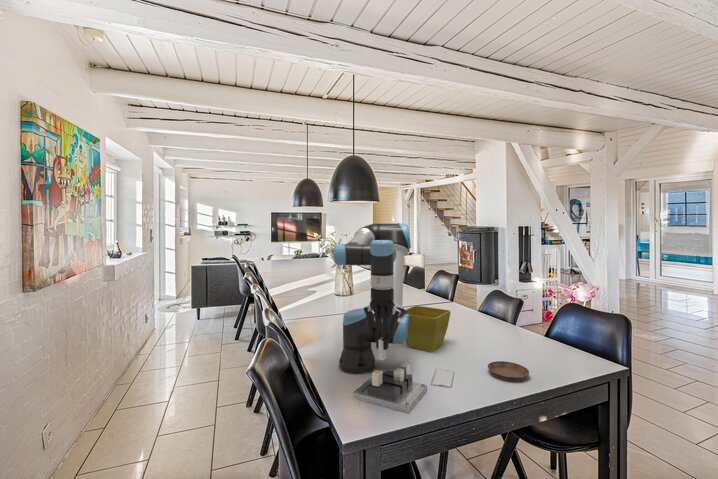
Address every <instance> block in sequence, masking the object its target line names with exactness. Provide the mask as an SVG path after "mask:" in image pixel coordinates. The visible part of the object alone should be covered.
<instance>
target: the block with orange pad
mask: <svg viewBox="0 0 718 479" xmlns="http://www.w3.org/2000/svg"><path fill="white" fill-rule="evenodd" d="M382 373H383V371H381V370H377V369H374V370H373V372H372V373H371V377H372V385H374V386H378V387H379V386H380V385H381V384H382V383H383V378H382Z"/></svg>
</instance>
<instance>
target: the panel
mask: <svg viewBox="0 0 718 479" xmlns="http://www.w3.org/2000/svg"><path fill="white" fill-rule="evenodd" d="M399 366H400V367H398V368H395V370H392V369H385V370H384V371H382V378H383V383H382V384H381V385H380V386H379V387H378V386H374V385H372V376H371V377H370V378H369V379H368V380H367V381H365V382H364V383H362V385H360V386H359V387H358V388H357V389H356V390H354V391H352V393H353V394H352V398H353V399H355V400H359V401H362V402H366V403H370V404H374V405H377V406H381V407H385V408H389V409H391V410H396V411H399V412H403V413H407V414H410V413H411V411H412V410H413V409H414V408H415V407H416V405H417V404H418V402H420V400H422V398H423V397H424V395H425V394H426V393H427V391H428V385H427V384H423V383H419V382H414V381H413V374H411V364H410V363H407V362H402V363H401V364H400V365H399Z"/></svg>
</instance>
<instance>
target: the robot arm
mask: <svg viewBox="0 0 718 479" xmlns="http://www.w3.org/2000/svg"><path fill="white" fill-rule="evenodd" d="M411 248H412V244H411V236H410V227H409V225H408V224H406V223H399V222H398V223H370V224H368V225H365V226H363V227H360V228H359V229H357V230H356V232H355V233H354V235H353V237H352V238H351V239H350V240H349V241H348V242H347V243H340V244H339V243H338V244H337V243H336V244H335V245H334V247H333V250H332V251H333V252H332V259H333V263H334V264H335V265H339V266H370V287H371V288H370V301H369V304H368V305H367V306H365V307H363V308H354V309H351V310H347V311H346V312H344V314H343V316H342V317H343V318H342V350H341V353H340V356H339V357H340V358H339V360H338V368H339V369H340V370H341V371H342V372H344V373H349V374H356V375H357V374H366V373H367V374H368V373H370V372H372V371H375V370H376V367H377V362H376V357H375V354H374V351H373V348H372V347H373V346H372V344H373V343H375V344H376V345H375V347H376V349H378V360H380V361H384V360H385V359H386V358H387V351H388V349H389V344H391V345H403V344H405V343H406V338H407V333H408V327H409V315H408V314H406V308H404V306H403V300H404V299H403V293H404V267H405V266H404V264H405V263H404V262H405V259H404V258H405V256H406V254H408V250H411Z"/></svg>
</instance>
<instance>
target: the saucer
mask: <svg viewBox="0 0 718 479" xmlns="http://www.w3.org/2000/svg"><path fill="white" fill-rule="evenodd" d="M487 369H488V370H489V371H490V373H491V374H492V375H493V376H495V377H496V378H499V379H501V380H504V381H507V382H518V381H519V382H520V381H522V380H525V379H526V378H527V376H528V375H529V374H530V371H529V369H528V368H526V367H525V366H523V365H521V364H518V363H516V362H510V361H505V360H504V361H503V360H500V361H499V360H497V361H496V360H495V361H492V362H490V363H488V364H487Z"/></svg>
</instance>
